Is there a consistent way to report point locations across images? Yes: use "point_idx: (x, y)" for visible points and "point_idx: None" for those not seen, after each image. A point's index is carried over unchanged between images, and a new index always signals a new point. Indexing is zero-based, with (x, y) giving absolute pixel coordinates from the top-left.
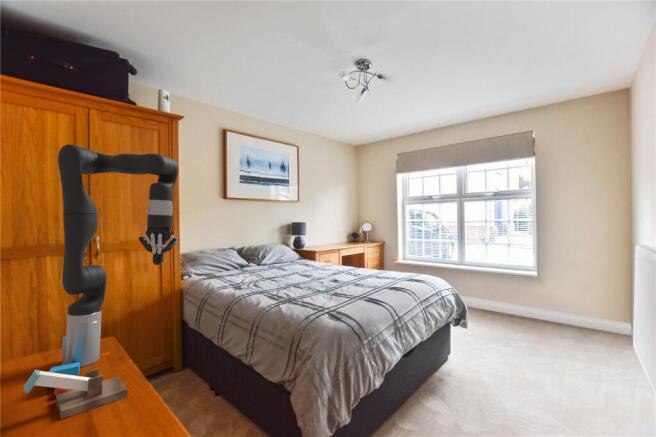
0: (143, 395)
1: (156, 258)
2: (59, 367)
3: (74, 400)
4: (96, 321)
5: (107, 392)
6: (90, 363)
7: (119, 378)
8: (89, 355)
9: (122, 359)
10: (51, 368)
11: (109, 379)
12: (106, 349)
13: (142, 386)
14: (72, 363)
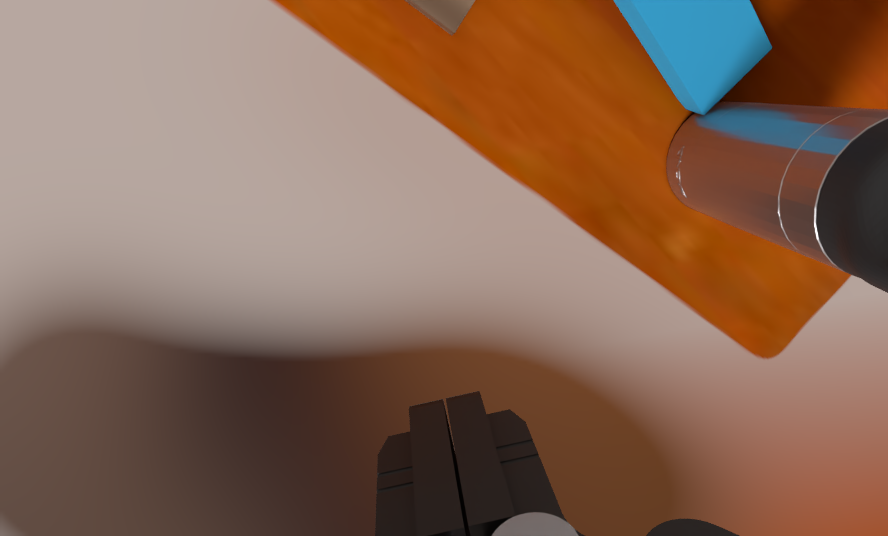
0: None
1: (459, 464)
2: (722, 11)
3: None
4: (779, 192)
5: None
6: (672, 144)
7: (435, 19)
8: (692, 143)
9: (581, 212)
10: (754, 12)
11: (468, 1)
12: (708, 274)
13: (337, 32)
14: (718, 89)
